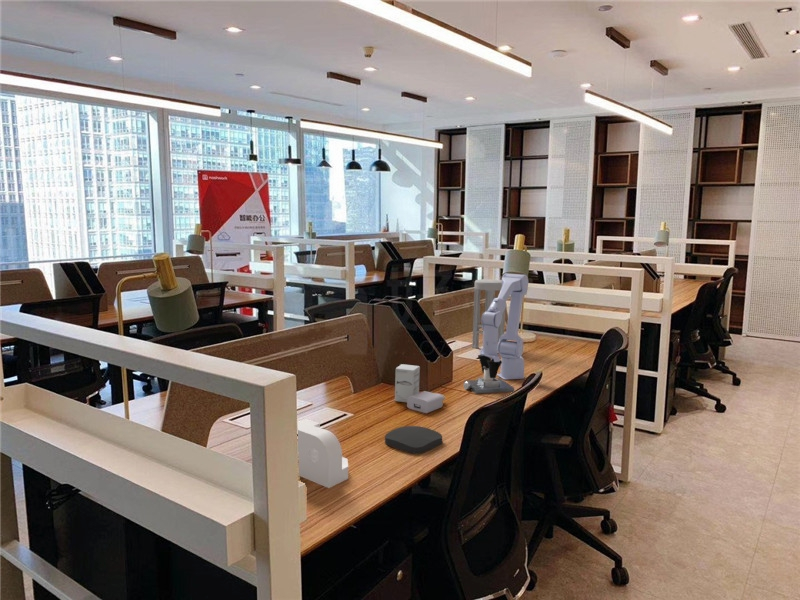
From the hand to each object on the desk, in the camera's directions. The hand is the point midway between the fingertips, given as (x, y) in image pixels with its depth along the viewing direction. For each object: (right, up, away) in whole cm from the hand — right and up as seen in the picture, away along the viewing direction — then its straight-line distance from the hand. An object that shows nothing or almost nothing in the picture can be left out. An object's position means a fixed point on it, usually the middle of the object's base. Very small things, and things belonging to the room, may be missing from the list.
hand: (488, 375), depth 238 cm
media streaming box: (-31, -14, -57) cm, 66 cm away
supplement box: (-33, -7, -16) cm, 37 cm away
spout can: (0, -5, +1) cm, 5 cm away
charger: (-25, -9, -22) cm, 34 cm away
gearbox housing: (0, -5, +1) cm, 5 cm away
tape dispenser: (-56, -16, -79) cm, 98 cm away
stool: (+10, +5, +71) cm, 72 cm away
